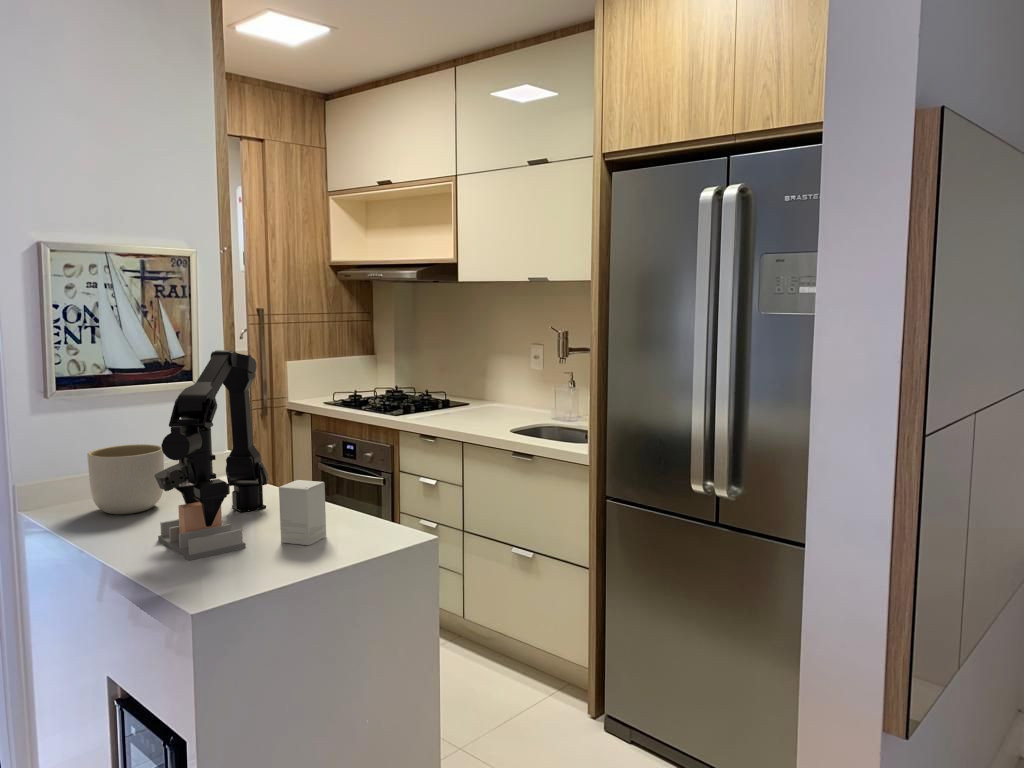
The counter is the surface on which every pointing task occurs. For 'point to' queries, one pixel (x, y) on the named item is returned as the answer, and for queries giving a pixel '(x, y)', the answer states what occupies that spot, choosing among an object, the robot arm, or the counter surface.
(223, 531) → the dish rack
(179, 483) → the robot arm
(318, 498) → the supplement box
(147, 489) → the planter
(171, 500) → the counter surface
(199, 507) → the tall clay brick
